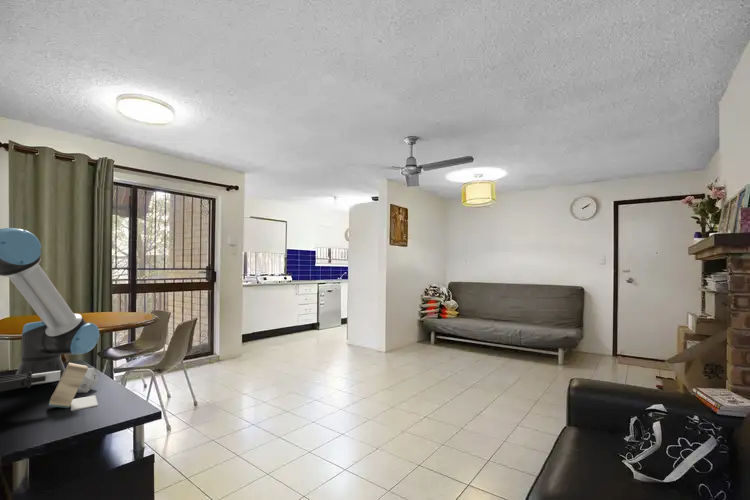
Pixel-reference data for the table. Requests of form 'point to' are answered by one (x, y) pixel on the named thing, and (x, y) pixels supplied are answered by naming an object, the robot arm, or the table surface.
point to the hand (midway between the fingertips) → (60, 375)
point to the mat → (83, 403)
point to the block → (68, 385)
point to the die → (88, 381)
